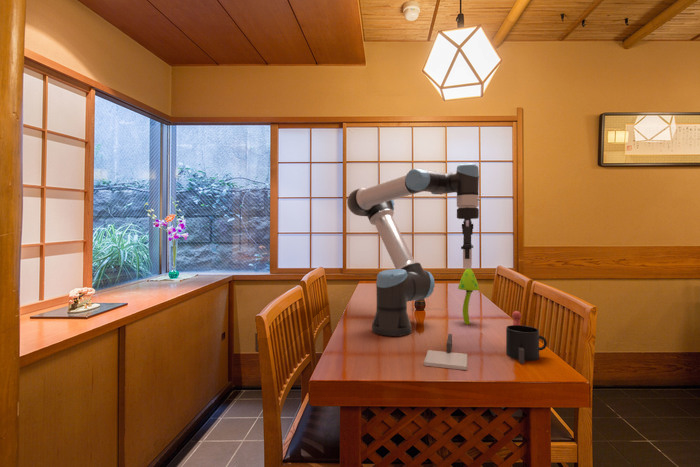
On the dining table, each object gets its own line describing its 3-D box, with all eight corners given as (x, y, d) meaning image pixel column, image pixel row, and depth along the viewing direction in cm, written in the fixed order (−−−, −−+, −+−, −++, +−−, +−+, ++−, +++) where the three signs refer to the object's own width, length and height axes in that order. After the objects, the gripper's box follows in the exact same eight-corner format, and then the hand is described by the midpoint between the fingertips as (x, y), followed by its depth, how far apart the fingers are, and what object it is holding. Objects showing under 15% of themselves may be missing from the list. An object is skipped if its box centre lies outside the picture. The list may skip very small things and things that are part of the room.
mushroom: (472, 331, 149) (472, 268, 149) (453, 327, 155) (454, 266, 155) (483, 327, 154) (483, 267, 154) (465, 323, 161) (465, 265, 161)
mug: (552, 363, 112) (552, 333, 113) (510, 361, 114) (511, 331, 114) (541, 353, 122) (541, 325, 122) (502, 351, 124) (502, 324, 124)
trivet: (423, 365, 109) (423, 362, 109) (428, 353, 120) (428, 350, 120) (466, 370, 105) (466, 366, 105) (467, 357, 117) (467, 353, 117)
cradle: (446, 356, 118) (446, 314, 118) (448, 343, 132) (449, 306, 132) (527, 364, 111) (527, 320, 111) (520, 349, 125) (520, 310, 125)
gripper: (479, 204, 121) (479, 270, 121) (478, 209, 144) (478, 264, 144) (455, 205, 123) (454, 269, 123) (458, 210, 147) (458, 264, 147)
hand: (467, 267), depth 134 cm, fingers open, 13 cm apart
